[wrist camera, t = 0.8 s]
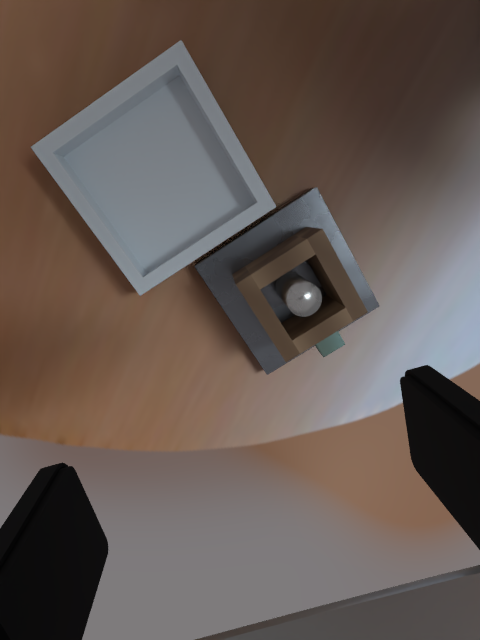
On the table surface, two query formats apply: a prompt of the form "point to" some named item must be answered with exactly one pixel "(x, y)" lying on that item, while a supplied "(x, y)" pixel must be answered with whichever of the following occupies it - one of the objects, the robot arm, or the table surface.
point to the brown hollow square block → (335, 306)
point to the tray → (156, 170)
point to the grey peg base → (288, 290)
